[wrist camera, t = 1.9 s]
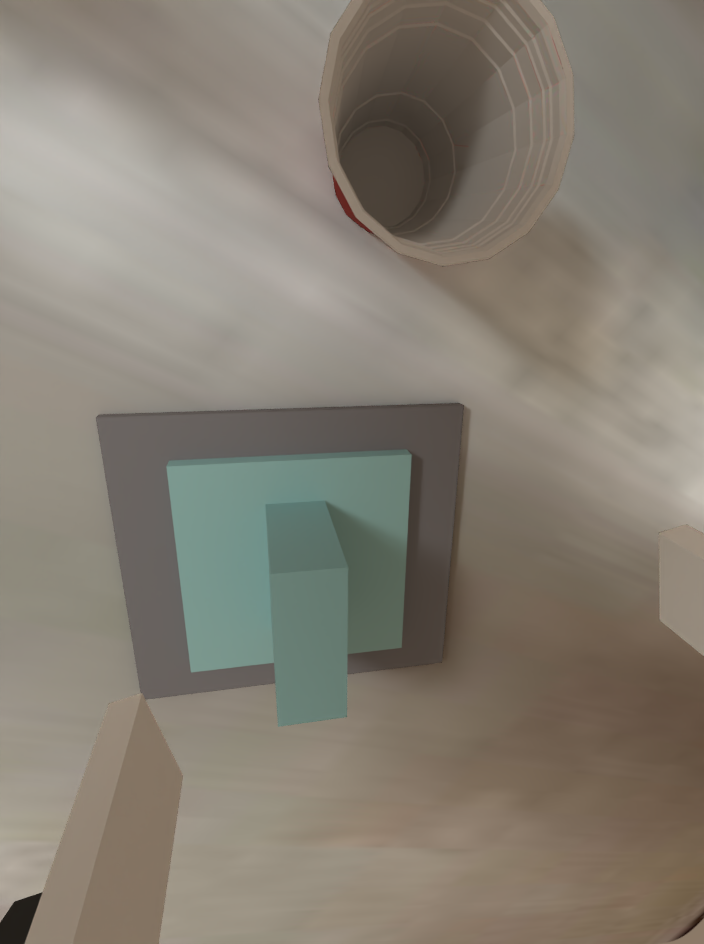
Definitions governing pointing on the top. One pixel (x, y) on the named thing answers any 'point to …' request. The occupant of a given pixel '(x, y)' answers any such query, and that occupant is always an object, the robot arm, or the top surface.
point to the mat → (269, 434)
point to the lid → (292, 566)
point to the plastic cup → (446, 122)
